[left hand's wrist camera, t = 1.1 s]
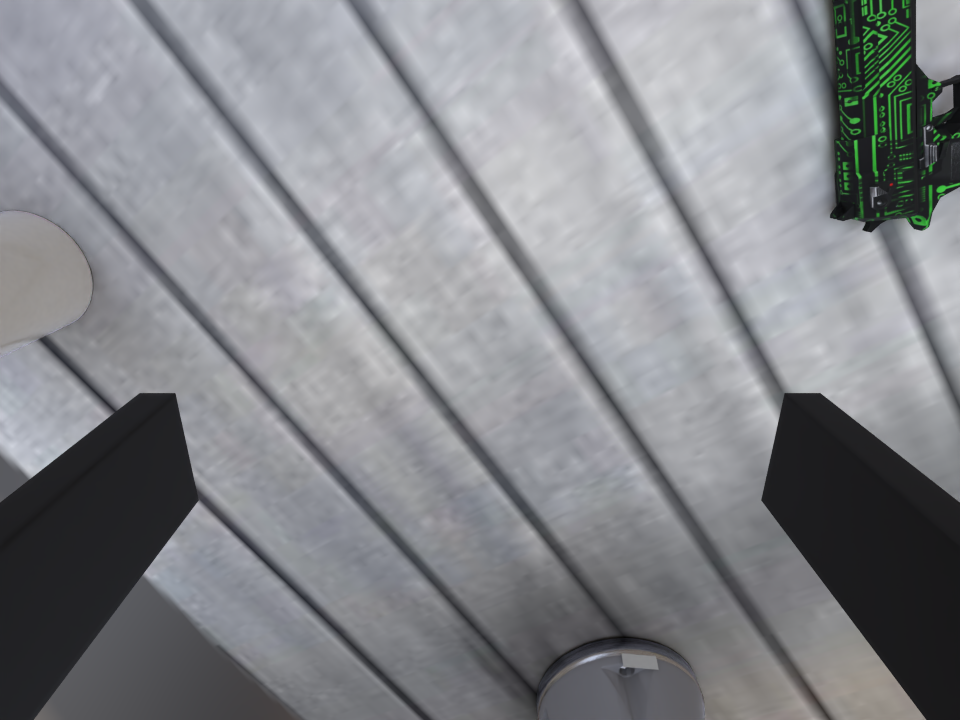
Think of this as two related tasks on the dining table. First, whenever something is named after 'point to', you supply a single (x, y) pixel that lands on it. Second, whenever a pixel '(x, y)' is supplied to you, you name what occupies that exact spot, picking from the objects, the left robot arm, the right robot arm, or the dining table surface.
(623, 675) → the right robot arm
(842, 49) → the handgun
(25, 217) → the jar
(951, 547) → the left robot arm
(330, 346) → the dining table surface
